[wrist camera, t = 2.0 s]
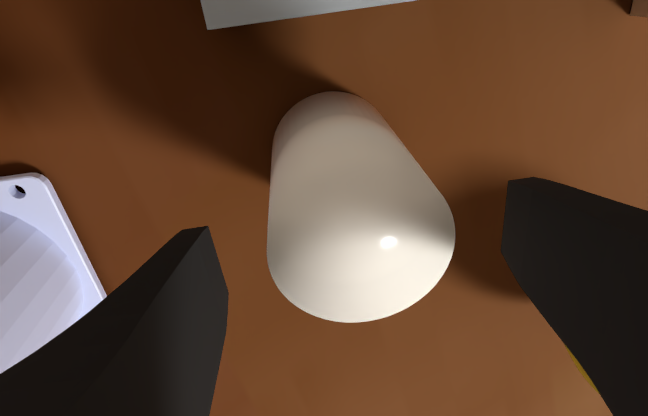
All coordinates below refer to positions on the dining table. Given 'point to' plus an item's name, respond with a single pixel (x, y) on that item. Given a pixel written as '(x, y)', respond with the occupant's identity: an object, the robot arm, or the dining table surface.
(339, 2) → the tray
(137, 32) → the dining table surface
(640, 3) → the counter shelf
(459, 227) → the dining table surface
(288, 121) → the beige rounded lump
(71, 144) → the dining table surface
